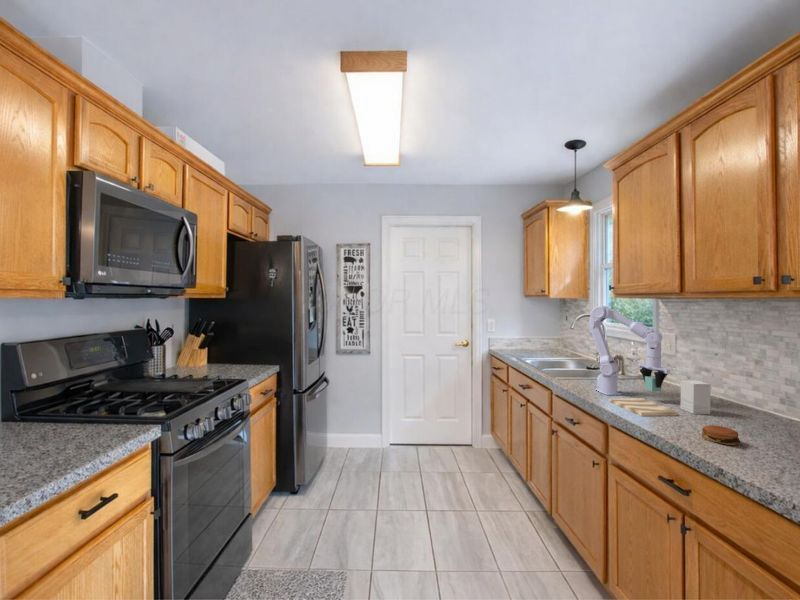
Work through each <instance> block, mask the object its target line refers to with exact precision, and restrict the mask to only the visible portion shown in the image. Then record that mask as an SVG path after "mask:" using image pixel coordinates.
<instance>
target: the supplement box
mask: <svg viewBox="0 0 800 600" xmlns="http://www.w3.org/2000/svg"><path fill="white" fill-rule="evenodd" d="M711 387H712V386H711V383H707V382H704V381H700V380H693V379H691V380H688V379H687V380H683V379H682V380H680V407H679V408H680V409H681V410H682V411H685V412H688V413H691V414H692V415H710V414H711Z"/></svg>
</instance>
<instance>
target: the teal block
mask: <svg viewBox="0 0 800 600" xmlns="http://www.w3.org/2000/svg"><path fill="white" fill-rule="evenodd" d="M644 390H646V391H650V392H662V387H661V388H657V387H656V378H655V375H651V376H645V382H644Z"/></svg>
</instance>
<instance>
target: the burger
mask: <svg viewBox="0 0 800 600" xmlns="http://www.w3.org/2000/svg"><path fill="white" fill-rule="evenodd" d="M701 430H702V432H701V437H702V438H704V439H703V440H706V441H707V440H708V442H711V441H712V443H715V442H716V444H721V445H724V444H725V445H724V446H738V444H740V443H741V439H740V438H739V433H738V431H737V430H735V429H732V428H730V427H726V426H721V425H712V424H710V425H705V426H702V429H701Z"/></svg>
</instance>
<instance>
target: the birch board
mask: <svg viewBox="0 0 800 600" xmlns="http://www.w3.org/2000/svg"><path fill="white" fill-rule="evenodd" d="M608 401H609V403H611V404H613V405H615V406H618V407H620V408H623V409H624V410H627V411H628V412H631V413H633V414H635V415H638V416H640V417H659V416H660V417H663V416H664V417H669V416H672V417H673V416H674V417H675V416H679V411H677V410H674V409H672V408H669V407H666V406H663V405H661V404H658V403H655V402H653V401H650V400H647V399H645V398H641V397H639V398H636V397H635V398H633V397H631V398H609V399H608Z"/></svg>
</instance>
